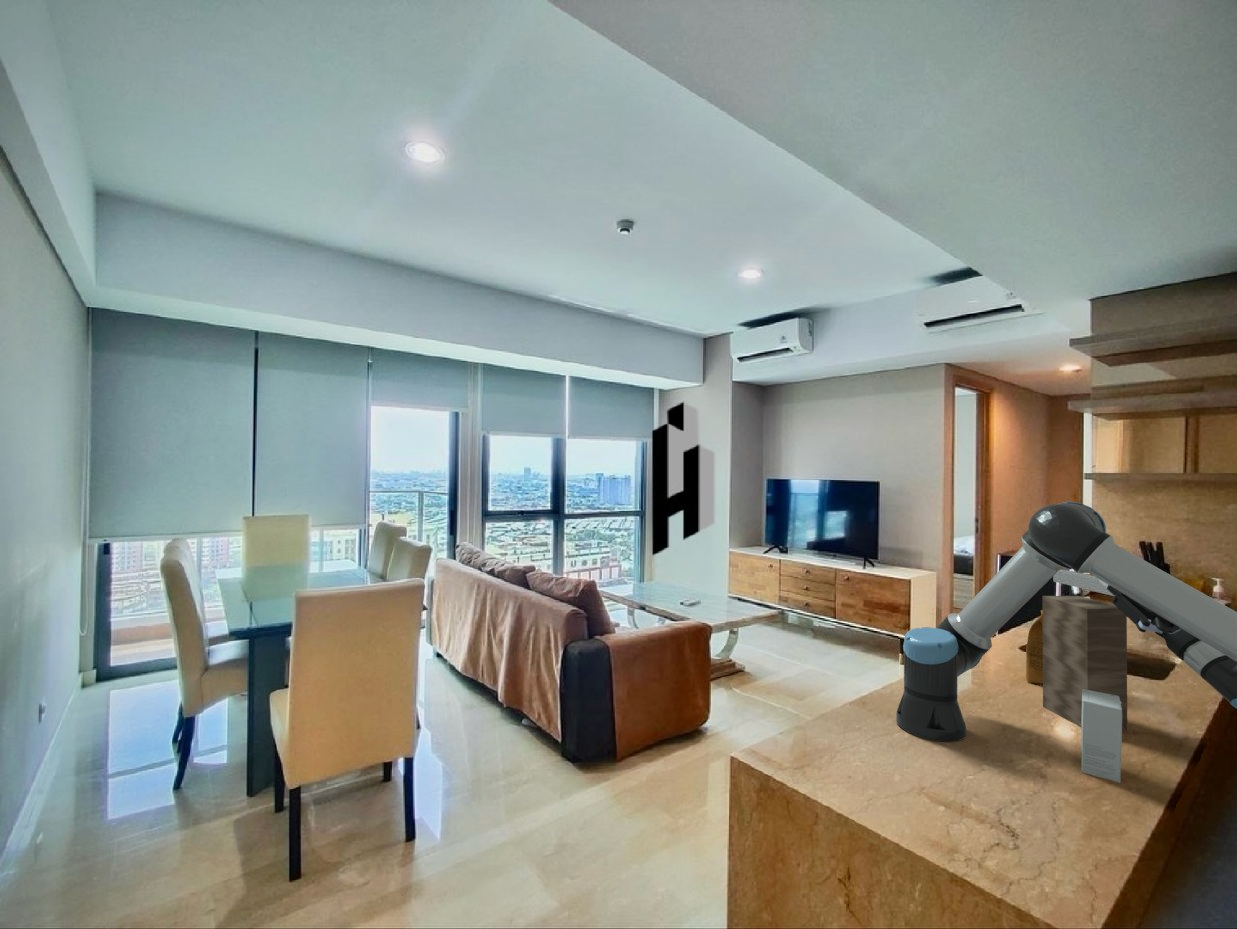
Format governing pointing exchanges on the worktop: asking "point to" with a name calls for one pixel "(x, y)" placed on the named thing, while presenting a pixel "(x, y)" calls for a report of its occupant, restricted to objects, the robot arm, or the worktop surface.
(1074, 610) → the walnut stand
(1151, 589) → the robot arm
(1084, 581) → the steel bar
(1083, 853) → the worktop surface
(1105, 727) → the skincare box
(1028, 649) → the brown bottle
